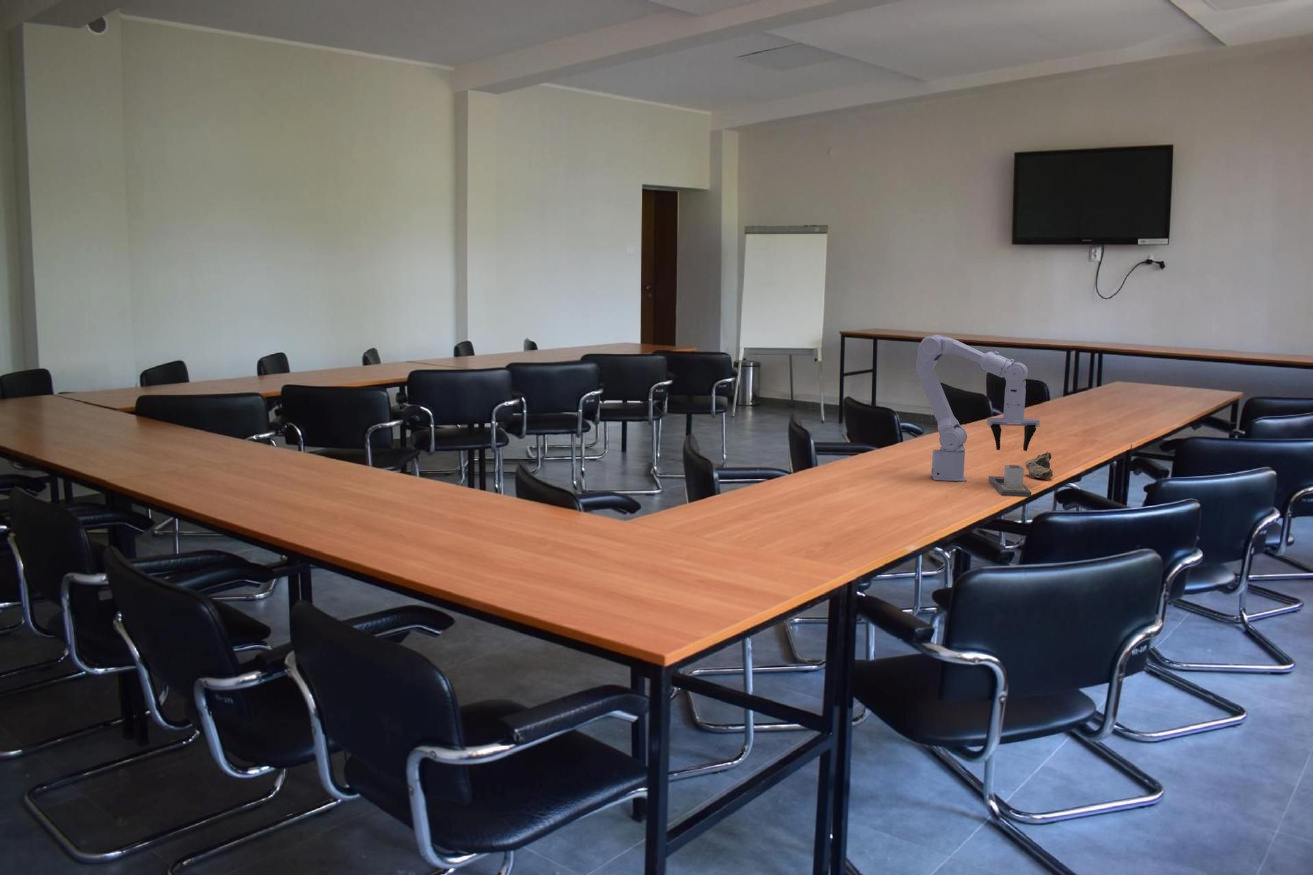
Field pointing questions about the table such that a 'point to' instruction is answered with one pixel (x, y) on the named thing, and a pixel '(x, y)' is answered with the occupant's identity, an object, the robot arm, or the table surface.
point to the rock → (1040, 467)
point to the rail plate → (1008, 492)
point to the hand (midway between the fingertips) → (1011, 450)
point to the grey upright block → (1013, 477)
